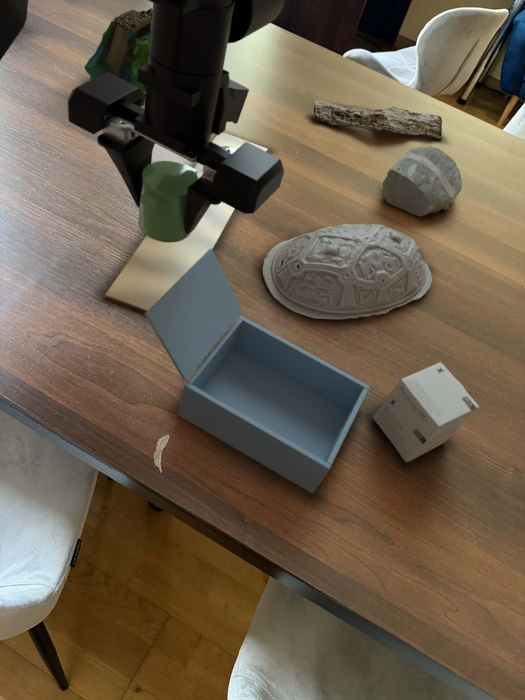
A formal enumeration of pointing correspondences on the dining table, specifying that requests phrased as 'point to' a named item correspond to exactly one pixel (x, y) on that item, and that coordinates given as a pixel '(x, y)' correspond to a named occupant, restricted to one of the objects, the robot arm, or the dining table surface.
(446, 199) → the decorative stone
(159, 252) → the board
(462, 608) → the dining table surface
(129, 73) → the sculpture
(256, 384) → the carton
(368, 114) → the driftwood
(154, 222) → the pot
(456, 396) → the white cardboard box
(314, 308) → the turtle shell
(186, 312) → the flap
